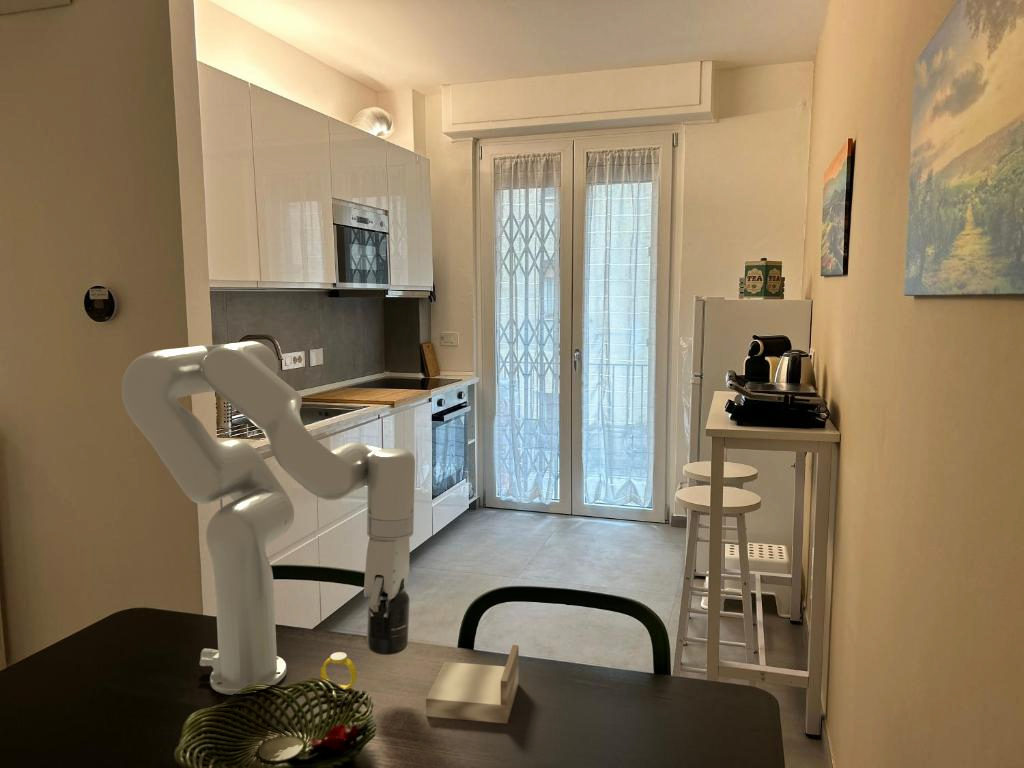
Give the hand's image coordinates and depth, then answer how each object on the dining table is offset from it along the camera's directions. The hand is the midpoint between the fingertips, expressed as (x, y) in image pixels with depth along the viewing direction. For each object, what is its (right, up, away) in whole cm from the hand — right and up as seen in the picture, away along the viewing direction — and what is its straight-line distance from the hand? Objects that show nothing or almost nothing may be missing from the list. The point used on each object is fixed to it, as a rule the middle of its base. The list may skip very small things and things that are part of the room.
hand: (388, 627), depth 124 cm
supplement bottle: (0, -4, +1) cm, 4 cm away
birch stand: (+14, -12, -1) cm, 19 cm away
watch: (-9, -11, +3) cm, 15 cm away
